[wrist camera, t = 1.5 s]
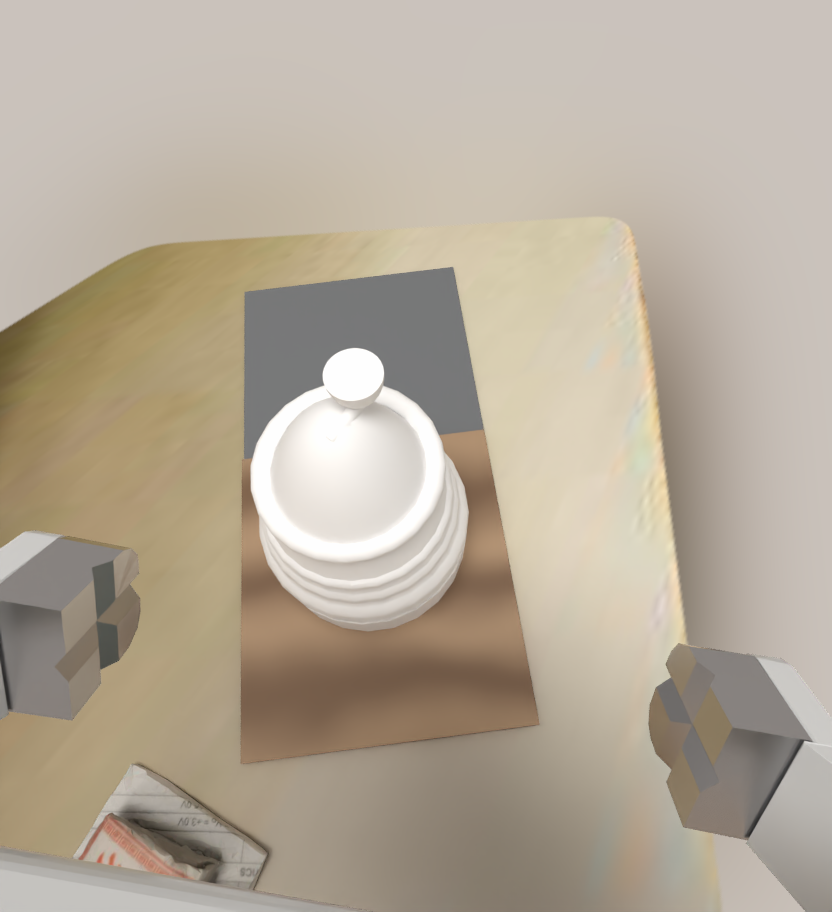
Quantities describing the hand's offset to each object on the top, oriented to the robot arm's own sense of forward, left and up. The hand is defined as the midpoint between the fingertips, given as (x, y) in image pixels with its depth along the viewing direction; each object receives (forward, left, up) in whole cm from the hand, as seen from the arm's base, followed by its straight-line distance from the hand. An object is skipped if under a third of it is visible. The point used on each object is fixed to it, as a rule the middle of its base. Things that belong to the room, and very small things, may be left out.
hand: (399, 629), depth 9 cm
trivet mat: (+25, -5, -30) cm, 40 cm away
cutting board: (+8, 0, -30) cm, 31 cm away
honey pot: (+11, -1, -30) cm, 32 cm away
